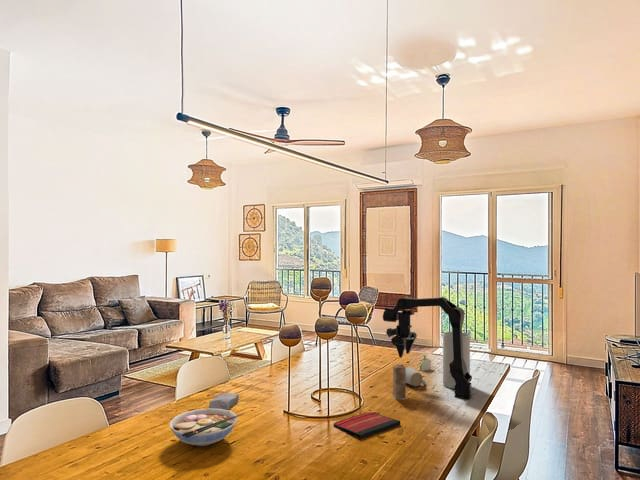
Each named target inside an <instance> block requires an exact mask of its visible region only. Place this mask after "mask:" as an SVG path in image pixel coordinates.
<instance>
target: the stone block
mask: <svg viewBox="0 0 640 480" xmlns="http://www.w3.org/2000/svg"><path fill="white" fill-rule="evenodd" d="M239 399H240V397H239V394H235V393H232V392H231V393H230V392H226V393H221V394H218V395H216V396H214V397H213V398H212V399H211V400H209V402H208V403H209V405H208V406H209V408H212V409H223V410H228V411H230V409H231V408H232V407H233V406H234V405H235V404H237V403H238V402H239Z"/></svg>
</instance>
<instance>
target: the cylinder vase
mask: <svg viewBox="0 0 640 480" xmlns="http://www.w3.org/2000/svg"><path fill="white" fill-rule="evenodd" d="M462 339H463V358H464V361H465V363H466V368H467V372H468V373H469V374H470V375H471V365H470V364H471V360H470V359H471V354H470V353H471V335H470V334H469V333H466V332H462ZM453 359H454V357H453V335H452V331H446V332H443V333H442V384H443V386H445V387H446V388H449V389H453V390H455V385H456V383H455V380H454V378H453V377H452V376H451V373H449V372H450V366H449V364H450V363H451V362H452V361H453ZM469 383H471V381H470V382H469Z"/></svg>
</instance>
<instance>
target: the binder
mask: <svg viewBox="0 0 640 480" xmlns="http://www.w3.org/2000/svg"><path fill="white" fill-rule="evenodd" d="M399 426H401V421H400V420H399V419H396V418H392V417H388V416H385V415H382V414H379V413H376V412H373V411H372V412H371V411H370V412H365V413H360V414H356V415H353V416H350V417H346V418H343V419H341V420H339V421H336V422H333V427H334V428H336V429H338V430H340V431H342V432H343V433H346V434H348V435H350V436H352V437H354V436H358V437H359V440H361V441H362V440H365V439H366V438H370V437H372V436H374V435H375V436H376V435H378V434H380V433H383V432H385V431H387V430H390V429H394V428H396V427H399Z"/></svg>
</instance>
